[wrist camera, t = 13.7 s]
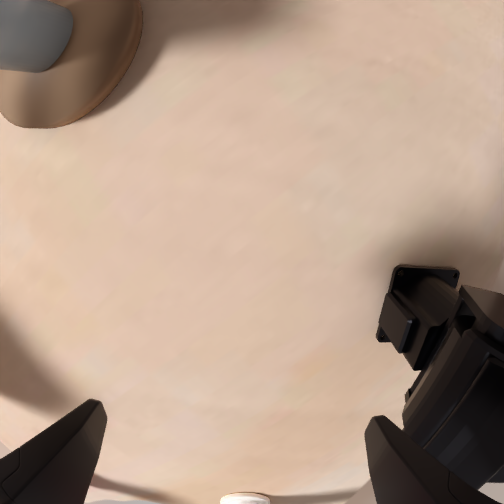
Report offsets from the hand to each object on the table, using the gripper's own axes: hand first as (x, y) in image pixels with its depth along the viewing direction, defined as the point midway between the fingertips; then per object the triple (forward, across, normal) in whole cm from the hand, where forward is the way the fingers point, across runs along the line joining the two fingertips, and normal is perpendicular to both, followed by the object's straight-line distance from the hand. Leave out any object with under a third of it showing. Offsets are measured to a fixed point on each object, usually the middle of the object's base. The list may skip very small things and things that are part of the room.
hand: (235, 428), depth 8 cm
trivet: (+14, +14, -16) cm, 26 cm away
